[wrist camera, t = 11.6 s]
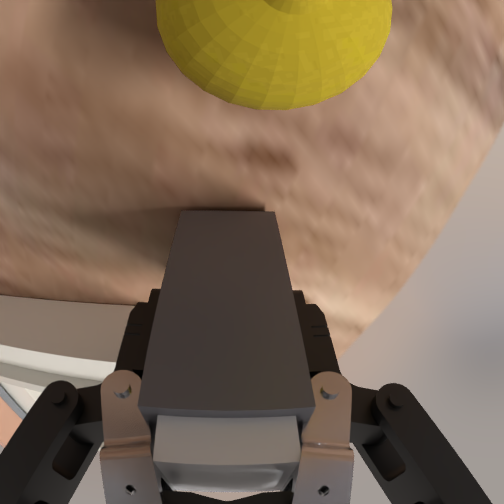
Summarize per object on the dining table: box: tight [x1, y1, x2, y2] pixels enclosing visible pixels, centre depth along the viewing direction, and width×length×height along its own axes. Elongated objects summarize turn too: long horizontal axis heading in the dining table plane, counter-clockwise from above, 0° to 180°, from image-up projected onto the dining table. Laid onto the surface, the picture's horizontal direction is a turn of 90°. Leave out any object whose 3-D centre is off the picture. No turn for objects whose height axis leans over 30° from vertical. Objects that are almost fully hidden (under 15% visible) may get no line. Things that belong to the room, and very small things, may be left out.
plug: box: [137, 211, 316, 492], centre depth 11 cm, size 4×4×10 cm
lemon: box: [156, 0, 392, 110], centre depth 6 cm, size 6×6×8 cm
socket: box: [0, 295, 135, 451], centre depth 19 cm, size 14×14×5 cm
